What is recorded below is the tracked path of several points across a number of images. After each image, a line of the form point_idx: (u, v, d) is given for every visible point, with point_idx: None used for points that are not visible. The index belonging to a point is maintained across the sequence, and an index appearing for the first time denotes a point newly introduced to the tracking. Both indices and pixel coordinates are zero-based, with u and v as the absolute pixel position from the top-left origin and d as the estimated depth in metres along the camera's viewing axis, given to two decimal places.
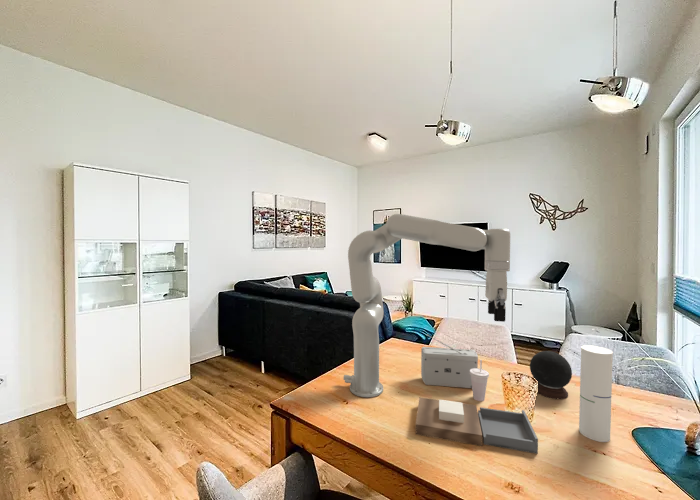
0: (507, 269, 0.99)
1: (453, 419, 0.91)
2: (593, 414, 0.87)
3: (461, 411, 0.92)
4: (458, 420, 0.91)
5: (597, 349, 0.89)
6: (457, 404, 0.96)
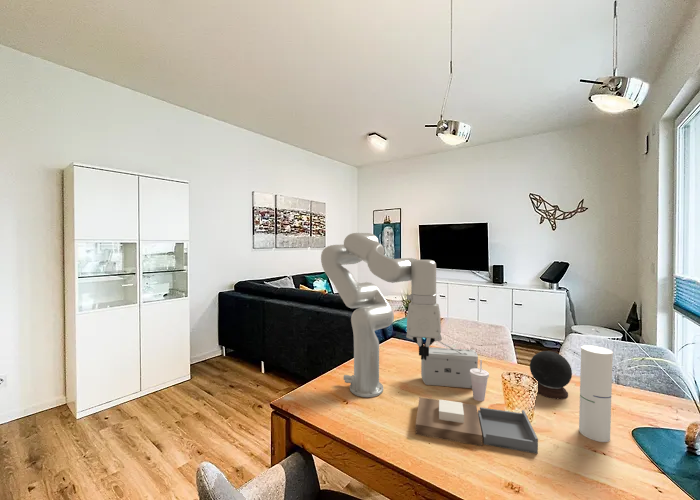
0: None
1: (453, 419, 0.91)
2: (593, 414, 0.87)
3: (461, 411, 0.92)
4: (458, 420, 0.91)
5: (597, 349, 0.89)
6: (457, 404, 0.96)
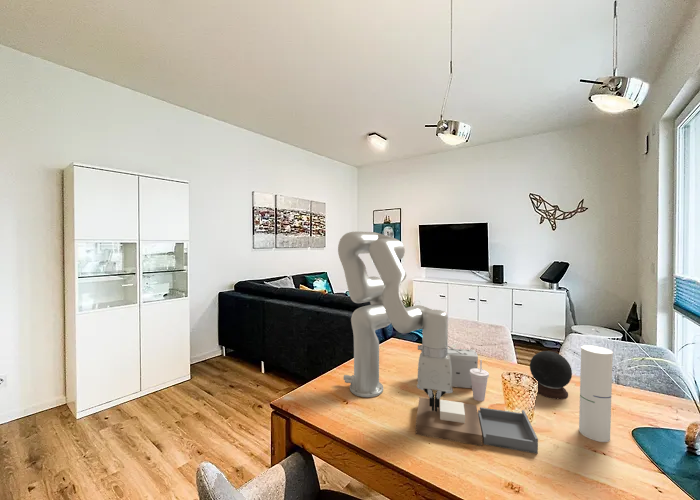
0: None
1: (454, 419, 0.91)
2: (593, 414, 0.87)
3: (462, 411, 0.92)
4: (459, 420, 0.90)
5: (597, 349, 0.89)
6: (458, 404, 0.96)
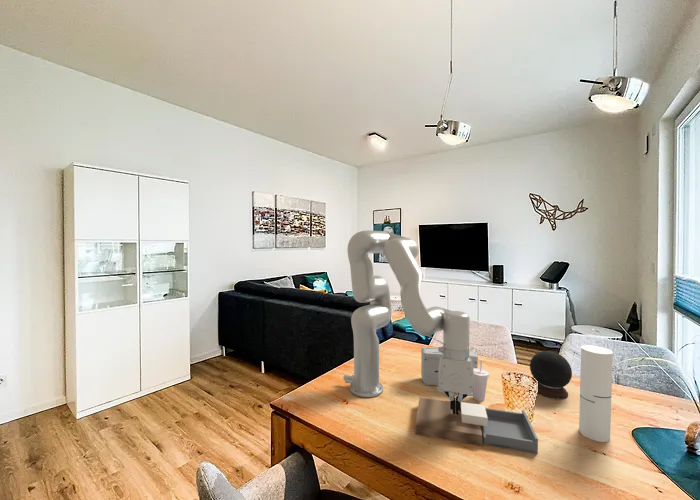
0: None
1: (476, 422, 0.89)
2: (593, 414, 0.87)
3: (484, 414, 0.90)
4: (481, 423, 0.89)
5: (597, 349, 0.89)
6: (479, 407, 0.94)
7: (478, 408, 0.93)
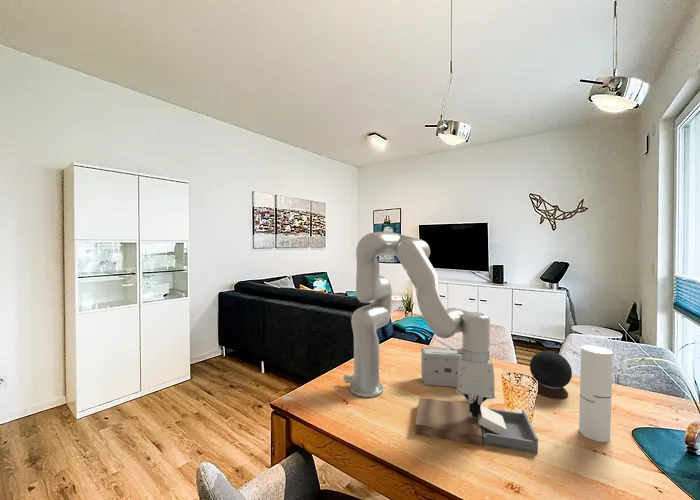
0: None
1: (494, 429, 0.88)
2: (593, 414, 0.87)
3: (503, 425, 0.89)
4: (498, 432, 0.88)
5: (597, 349, 0.89)
6: (498, 415, 0.93)
7: (497, 416, 0.92)
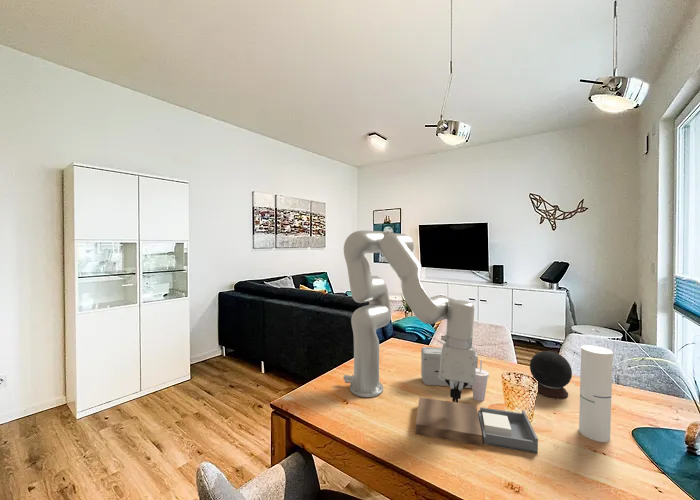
0: None
1: (500, 434, 0.88)
2: (593, 414, 0.87)
3: (508, 425, 0.89)
4: (505, 435, 0.87)
5: (597, 349, 0.89)
6: (502, 417, 0.93)
7: (501, 419, 0.92)
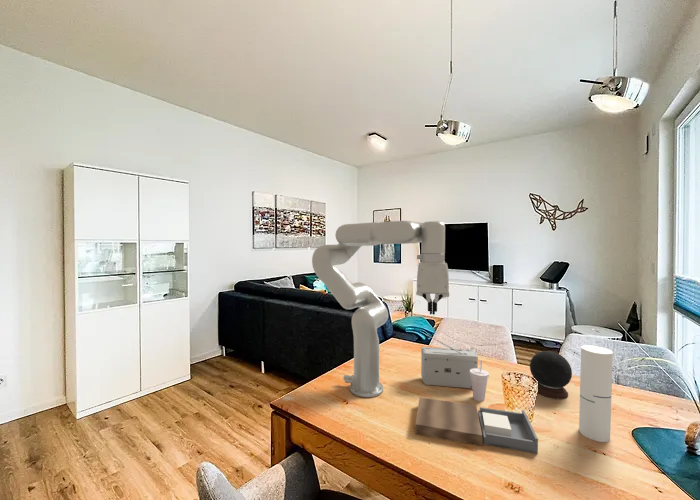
0: None
1: (500, 434, 0.88)
2: (593, 414, 0.87)
3: (508, 425, 0.89)
4: (505, 435, 0.87)
5: (597, 349, 0.89)
6: (502, 417, 0.93)
7: (501, 419, 0.92)
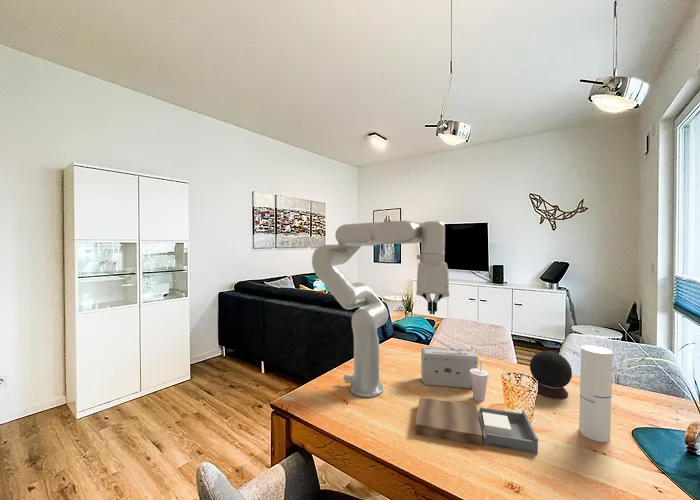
0: None
1: (500, 434, 0.88)
2: (593, 414, 0.87)
3: (508, 425, 0.89)
4: (505, 435, 0.87)
5: (597, 349, 0.89)
6: (502, 417, 0.93)
7: (501, 419, 0.92)
